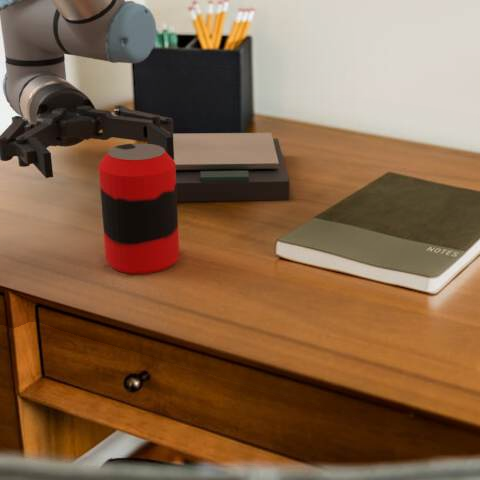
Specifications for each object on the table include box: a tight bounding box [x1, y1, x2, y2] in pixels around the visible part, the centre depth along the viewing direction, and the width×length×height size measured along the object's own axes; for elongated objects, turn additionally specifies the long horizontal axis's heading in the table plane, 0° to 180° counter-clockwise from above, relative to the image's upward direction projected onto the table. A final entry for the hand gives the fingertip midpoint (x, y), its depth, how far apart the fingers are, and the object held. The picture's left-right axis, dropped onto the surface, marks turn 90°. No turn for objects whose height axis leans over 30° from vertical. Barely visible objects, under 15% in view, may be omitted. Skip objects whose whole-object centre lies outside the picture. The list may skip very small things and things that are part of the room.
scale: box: [176, 138, 290, 203], centre depth 121 cm, size 16×19×3 cm
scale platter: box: [173, 132, 279, 170], centre depth 121 cm, size 14×14×1 cm
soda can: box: [98, 142, 180, 275], centre depth 93 cm, size 8×8×12 cm
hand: (111, 157), depth 99 cm, fingers open, 13 cm apart
